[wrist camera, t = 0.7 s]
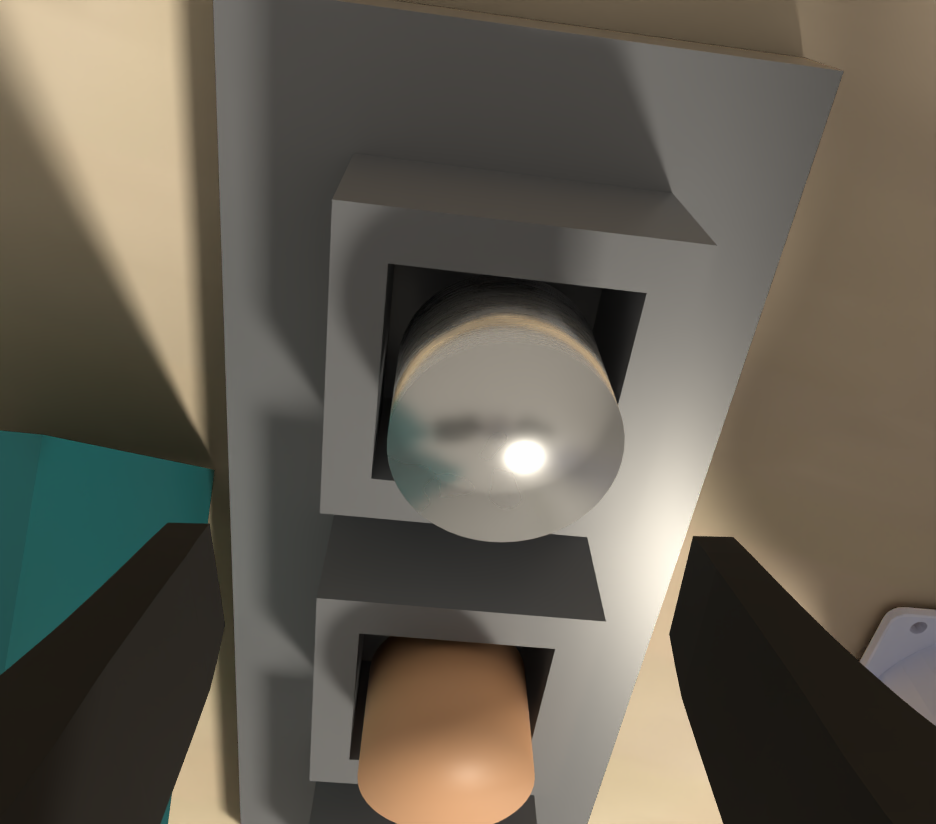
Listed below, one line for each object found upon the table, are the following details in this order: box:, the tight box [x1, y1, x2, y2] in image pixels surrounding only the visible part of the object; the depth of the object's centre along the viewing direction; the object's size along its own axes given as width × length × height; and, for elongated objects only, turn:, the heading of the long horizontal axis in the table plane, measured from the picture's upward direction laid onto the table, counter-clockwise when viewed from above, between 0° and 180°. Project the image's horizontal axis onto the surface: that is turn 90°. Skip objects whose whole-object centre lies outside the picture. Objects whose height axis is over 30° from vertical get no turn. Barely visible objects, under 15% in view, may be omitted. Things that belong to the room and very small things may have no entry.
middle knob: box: [358, 636, 535, 824], centre depth 19 cm, size 4×4×3 cm
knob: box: [387, 274, 625, 542], centre depth 15 cm, size 4×4×3 cm
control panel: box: [213, 0, 844, 824], centre depth 22 cm, size 12×30×5 cm, turn 173°
